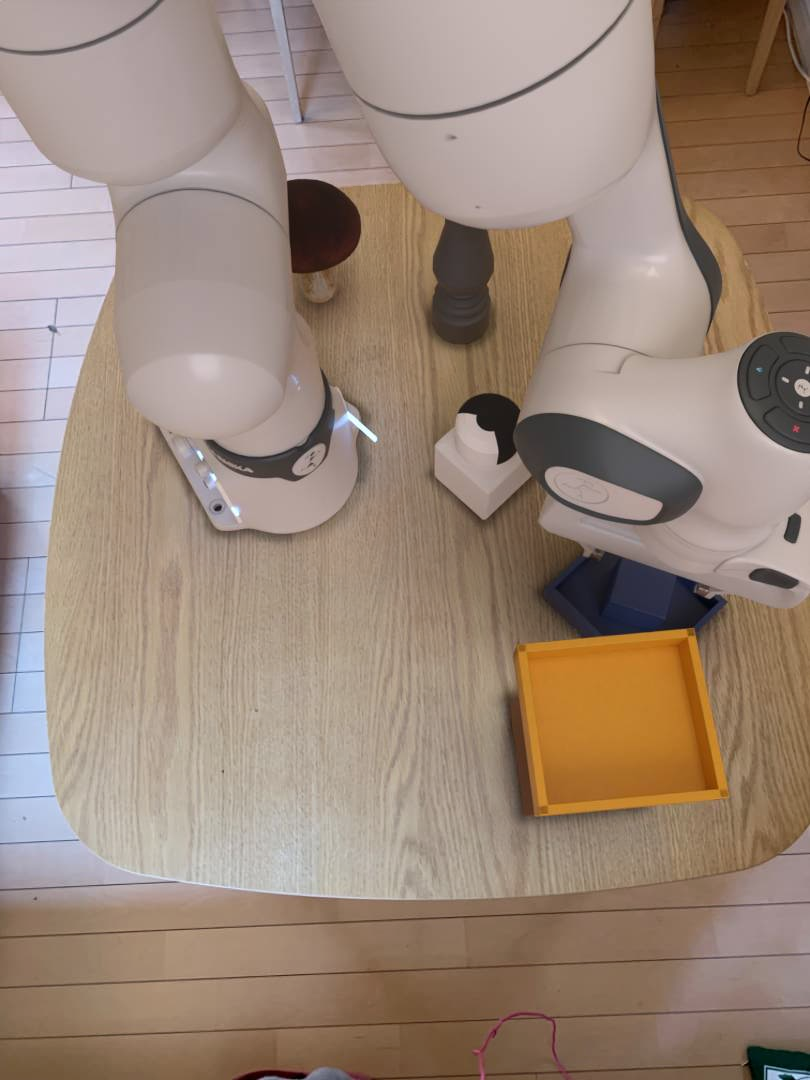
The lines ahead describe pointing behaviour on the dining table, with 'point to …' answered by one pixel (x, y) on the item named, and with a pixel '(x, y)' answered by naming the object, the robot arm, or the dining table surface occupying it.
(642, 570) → the navy block
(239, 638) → the dining table surface
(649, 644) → the ochre tray
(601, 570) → the navy tray
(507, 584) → the dining table surface
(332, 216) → the decorative mushroom
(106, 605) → the dining table surface
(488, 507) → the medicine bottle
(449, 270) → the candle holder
